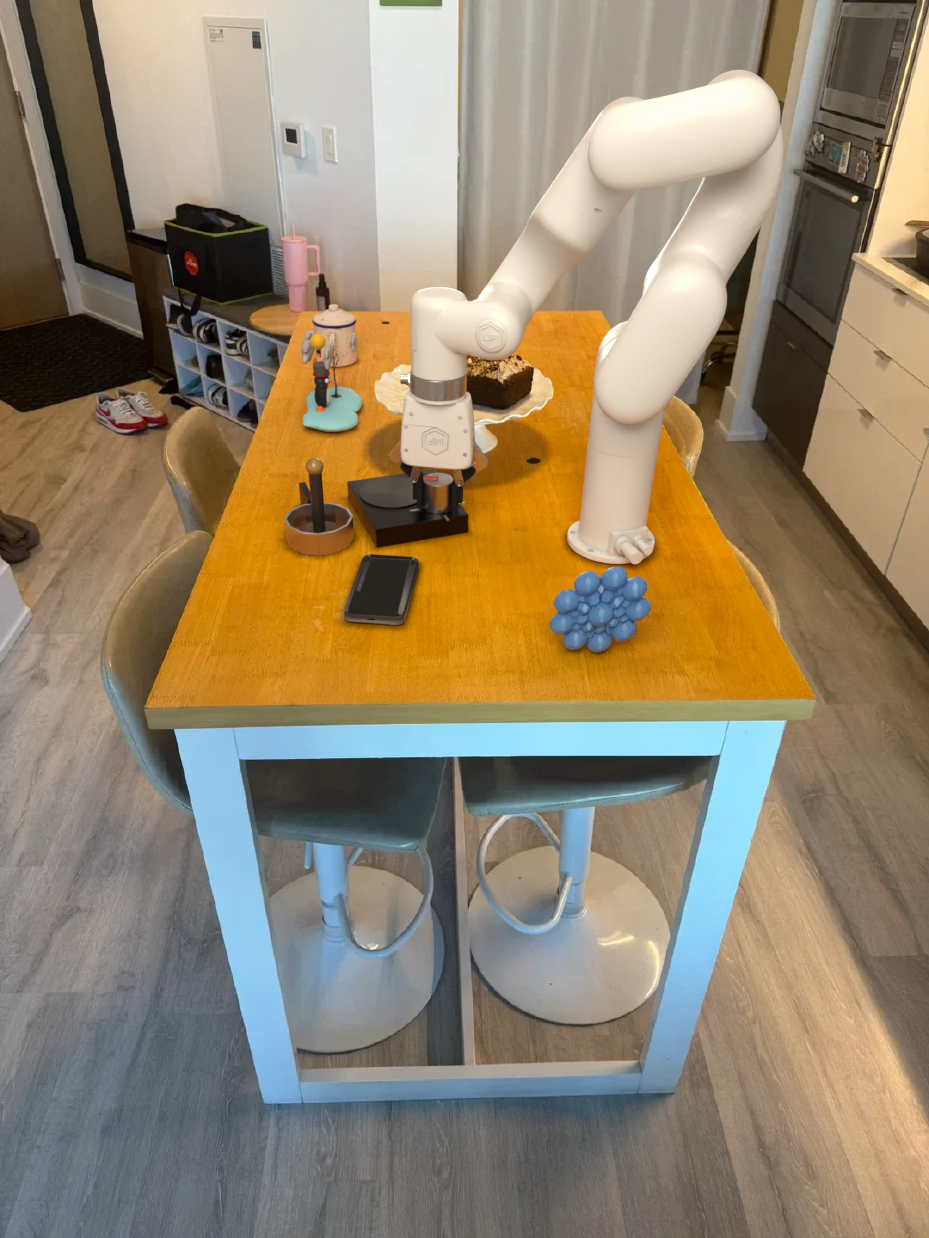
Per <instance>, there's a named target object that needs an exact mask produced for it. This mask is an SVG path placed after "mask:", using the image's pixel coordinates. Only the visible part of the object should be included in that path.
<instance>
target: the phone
mask: <svg viewBox="0 0 929 1238" xmlns="http://www.w3.org/2000/svg"><path fill="white" fill-rule="evenodd" d="M419 561H420V560H419V559H418V558H417V557H415V556H407V555H406V556H405V555H403V556H402V555H392V554H391V555H389V554H374V553H369V554H366V555H363V557H362V558H361V560H360V564H359V566H358V570H357V572H356V575H355V578H354V580H353V583H352V586H351V589H350V591H349V594H348V597H347V599H346V602H345V604H344V605H345V606H344V609H343V618H344V621H346V622H348V623H354V624H368V625H369V624H370V625H385V626H401V625H403V624H404V623H405V622H406V620H407V616H408V612H409V608H410V604H411V600H412V597H413V592H414V588H415V584H416V581H417V576H418V573H419V568H420V567H419Z"/></svg>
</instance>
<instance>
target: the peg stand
mask: <svg viewBox="0 0 929 1238" xmlns="http://www.w3.org/2000/svg"><path fill="white" fill-rule="evenodd" d="M305 469H306V472H307V473H308V485H309V490H310V497H311V509H312V521H313V522H311V523H308V524H305V525H303V526H302V527H300V528H299V530H300V531H302V532H312V533H321V532H327V531H334V530H336V529H338V528H340V526H339V525H337V524H335V523H332V522H327V521H325V511H324V502H325V499H324V487H323V473H322V472H323V470H324V464H323V461H322V459H320V458H317V457H311V458H309V459H308V460H307V461H306V462H305Z"/></svg>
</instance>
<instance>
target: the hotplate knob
mask: <svg viewBox="0 0 929 1238" xmlns="http://www.w3.org/2000/svg"><path fill="white" fill-rule="evenodd" d="M453 482H454V476H452V475H450V474H448V473H446V472H445V473H444V472H435V473H431V474H428V475H426V476H425V475H424V476H423V508H424V510H425V511H427V512H429V513H433V514H443V513H447V512H449V511H451V503H452V485H453Z"/></svg>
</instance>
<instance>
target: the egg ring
mask: <svg viewBox="0 0 929 1238" xmlns="http://www.w3.org/2000/svg"><path fill="white" fill-rule="evenodd" d="M298 490H299V500H300V501H299V502H300V505H297V506H296V507H293V508H292V509H290V510H289V511H288V512H287V514H286V515H285V516H284V518H283V522H284V532H285V541H286V543H287V546H288V547H289V549H290V550H292V551H294V552H296V553H299V554H300V555H306V556H315V557H322V556H328V555H334V554H338V553H340V552H342V551H344V550H346V549H347V548H349V547H350V546H351V545H352V543H353V540H354V539H355V530H354V516H353V514H352V512H351V511H350V509H349V508H347V507H345V506H343V505H341V504H339V503H335V502H326V501H324V511H325V521H327V522H332V523H335V524H337V525H339V526H340V528H338V529H336V530H334V531H327V532H321V533H312V532H302V531H300V530H299V528H300V527H302V526H303V525H305V524H308V523H311V522H313V521H312V509H311V497H310V487H309V486H308V484H307V483H306V481H302V482H298Z"/></svg>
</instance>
